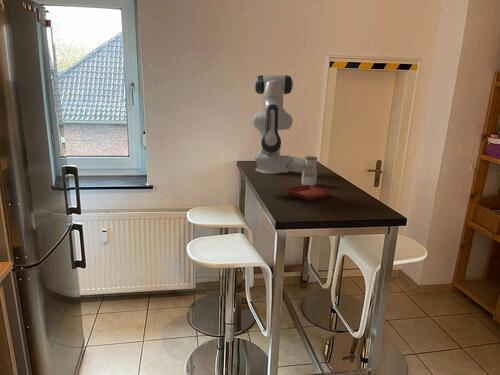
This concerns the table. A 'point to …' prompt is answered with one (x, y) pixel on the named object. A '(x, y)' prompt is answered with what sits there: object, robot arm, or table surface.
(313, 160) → the canister
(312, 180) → the jar
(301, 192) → the plant saucer
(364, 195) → the table surface
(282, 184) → the table surface
